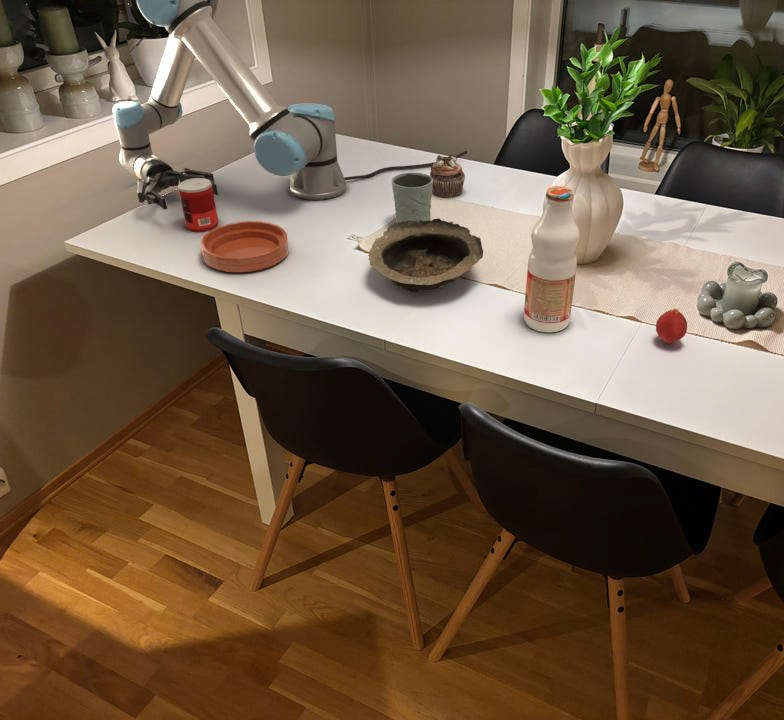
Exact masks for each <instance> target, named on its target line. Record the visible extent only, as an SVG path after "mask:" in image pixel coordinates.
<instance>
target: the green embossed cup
mask: <svg viewBox="0 0 784 720" xmlns="http://www.w3.org/2000/svg"><path fill="white" fill-rule="evenodd" d="M432 185H433V179H432V177H430V174H426V173H422V172H404V173H399V174H397V175H395V176H394V177H392V179H391V186H392V194H393V200H394V211H395V213H394V214H395V223H398V222H403V221H406V222H407V221H417V222H419V221H420V220H422V221H428V220H430V221H431V216H432V214H431V209H432V195H433V187H432Z"/></svg>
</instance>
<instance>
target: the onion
mask: <svg viewBox="0 0 784 720" xmlns="http://www.w3.org/2000/svg"><path fill="white" fill-rule="evenodd" d="M655 332H656V333H657V336H658V337H659V338H660V339H661V340H662V341H664V343H665V344H667V345H668V344H669V345H670V344H673V343H675V342H678V341H680V340H681V339H682V338H684V337H685V336H686V334H687V332H688V321H687V318H686V317H685V316H684V314H683V313H682V312H680V311H679V308H677V307H674V308H673V309H669V310H667V311H665V312H663V313H662V314H661V315H660V316H659V317H658V319H657V320H656V324H655Z"/></svg>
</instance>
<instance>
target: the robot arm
mask: <svg viewBox="0 0 784 720" xmlns="http://www.w3.org/2000/svg"><path fill="white" fill-rule="evenodd" d="M135 2H136V4H137V7H138V9H139V11H140V13H141V15H142V16H143V17H144V19H145V20H146V21H148V23H150V24H152V25H155V26H158V27H163V28H165V30H166V31H167V32H168V37H167V41H166V44H165V47H164V49H163V50H164V51H163V54H162V56H161V57H162V58H161V60H160V63H159V67H158V71H157V74H156V77H155V79H154V83H153V86H152V90H151V92H150V95H149V97H148V98H149V99H148V100H147V102H145V103H143V104H141V103H139V102H137V101H132V100H131V101H123V102H118V103H116V104H114V105H113V107H112V115H113V116H112V117H113V123H114V125H115V129H116V132H117V133H116V134H117V136H118V141H119V143H120V152H119V155H118V156H119V157H118V159H119V162H120V165H121V166H122V167H123V168H124V169H125V170H126V171H127V172H128V174H129V173H130V174H131V175H133V176H134V177H136V178H138V179H136V183H137V189H136V190H137V191H136V195H137V198H138V203H139V204H141V203H145V201H147V204H148V205H155V204H156V205H158V207H160V208H161V209H163V210H164V211H165V210H168V205H167V201H166V198H165V197H164V196H162V195H161V194H160V193H161V192H162V191H165V190H167V189H169V188H170V187H178V185H179V183H181V182H183V181H185V180H188V179H193V178H204V179H208V180H210V181H211V184H212V188H213V194H214V196H218V195H219V191H218V185H217V183H216V182H215V178H214V173H211V172H207V171H201V170H195V169H190V168H188V167H183V168H182V171H177V170H174V169H173V167H172V166H170V165H169V164H168V163H167V162H165V161H163V160H162V159H161V158H159V157H157V156H156V155H154V153H153V150H152V143H151V140H150V136H149V135H151V134H153V133H156V132H157V131H160V130H161V129H163V128H167V127H169V126H172V125H173V124H175V123H176V122H177V121H179V120H180V119H181V118H182V116H183V105H182V103H181V99H182V96H183V93H184V90H185V89H186V84H187V82H188V80H189V79H188V78H189V76H190V73H191V70H192V67H193V65H194V61H195V59H197V60H198V62H199V63H200V65H202V67H203V68H204V70H205V71H206V72H207V74H208V75H209V76H210V77H211V78H212V80H213V81H214V82H215V83H216V86H218V88H219V89H220V90H221V91H222V92H223V94H224V95H225V97H226V98H227V99H228V100H229V102H230V103H231V104H232V106H233V107H234V108H235V109H236V110H237V111H238V114H240V116H241V117H242V118H243V120H244V121H245V122H246V123H247V125H248V126H249V135H248V136H249V137H250V139H251V140H252V141H253V143H254V144H253V150H254V156H255V159H256V161H257V162H258V164H259V165H260V166H261V167H262V168H263V169H264V170H265V171H266V172H268V173H270V174H272V175H274V176H279V177H288V176H290V177H289V180H290V181H289V187H290V189H289V190H290V193H291V194H292V195H293V196H294V197H297V198H299V199H302V200H308V201H323V200H330V199H333V198H336V197H339V196H341V195H343V194H344V193H345V192H346V191H347V182H346V181H350V180H351V181H352V180H359V179H367V178H371V177H373V176H376V175H377V174H380V173H382V172H386V171H393V170H409V169H417V168H427V167H431V166H432V165H433V164H434V163H435V162H436V161H434V162H428V163H421V164H410V165H397V166H388V167H383V168H380V169H377V170H374V171H373V172H370V173H367V174H363V175H362V174H361V175H353V176H346V177H345V175H344V174H343V171H342V169H341V167H340V164H339V161H338V148H337V135H336V123H335V122H336V119H335V113H334V110H333V109H332V107H331V106H329V105H326V104H321V103H312V102H303V103H301V102H300V103H294V104H291V105H289V106H288V107H287V106H282V105H278V104H277V103H276V101H275V100H274V98H272V96H271V95H270V93H269V92H268V91H267V89H266V88H265V87H264V86H263V84H262V83H261V82H260V81H259V79H258V78H257V76H256V74H254V72H253V71H252V70H251V68H250V67H249V66H248V64H247V63H246V62H245V60H244V59H243V58H242V56H241V55H240V54H239V52H238V51H237V50H236V48H235V47H234V46H233V44H232V43H231V42H230V41H229V39H228V38H227V37H226V35H225V34H224V33H223V31H222V30H221V28H220V27H219V26H218V24H217V23H216V22H215V21H214V17H215V15H216V12H217V8H218V5H219V4H218V3H219V0H135ZM466 154H468V151H467V150H464V151H462V152H460V153H458V154H456V155H454V156H455V157H456V159H459V158H460V157H463V156H464V155H466Z"/></svg>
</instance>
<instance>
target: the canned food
mask: <svg viewBox="0 0 784 720" xmlns="http://www.w3.org/2000/svg"><path fill="white" fill-rule="evenodd" d="M177 190H178V195H179V199H180V204H181V208H182V213H183V217H184V222H185V226H186V228H187V229H188V230H189V231H191V232H196V233H203V232H207V231H208V232H209V231H211V230H214V229H216V228H217V226H218V225H219V217H218V212H217V206H216V200H215V195H214V194H213V188H212V184H211V181H210V180H208V179H204V178H193V179H188V180H185V181H183V182H181V183H180V182H179V185H178V186H177Z"/></svg>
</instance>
